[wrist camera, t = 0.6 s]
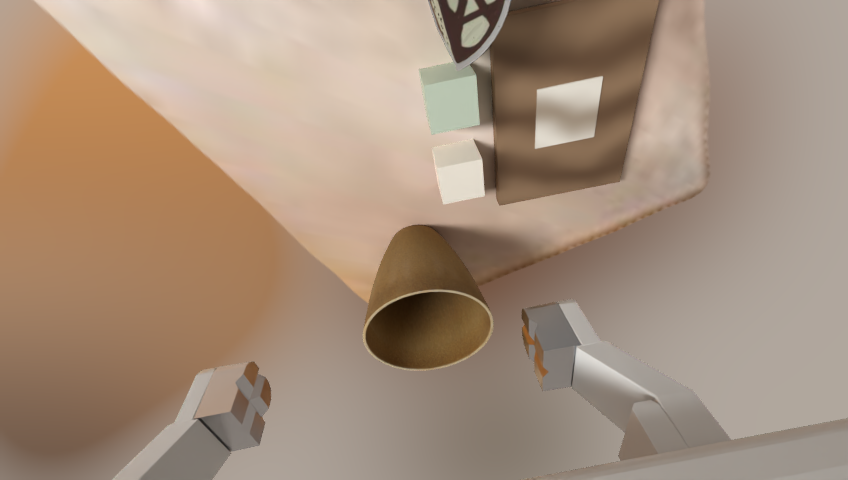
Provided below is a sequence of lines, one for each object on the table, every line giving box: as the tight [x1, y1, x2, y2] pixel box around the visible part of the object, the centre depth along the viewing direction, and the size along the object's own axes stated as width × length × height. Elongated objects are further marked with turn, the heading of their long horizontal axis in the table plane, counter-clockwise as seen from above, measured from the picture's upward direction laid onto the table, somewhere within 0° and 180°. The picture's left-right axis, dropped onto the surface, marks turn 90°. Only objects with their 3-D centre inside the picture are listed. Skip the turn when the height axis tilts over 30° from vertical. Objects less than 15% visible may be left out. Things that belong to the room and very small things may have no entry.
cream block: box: [432, 139, 485, 204], centre depth 44 cm, size 5×5×5 cm
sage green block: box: [419, 62, 480, 135], centre depth 39 cm, size 5×5×5 cm
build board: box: [490, 0, 659, 206], centre depth 43 cm, size 22×16×2 cm
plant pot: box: [363, 225, 494, 371], centre depth 48 cm, size 15×15×16 cm
